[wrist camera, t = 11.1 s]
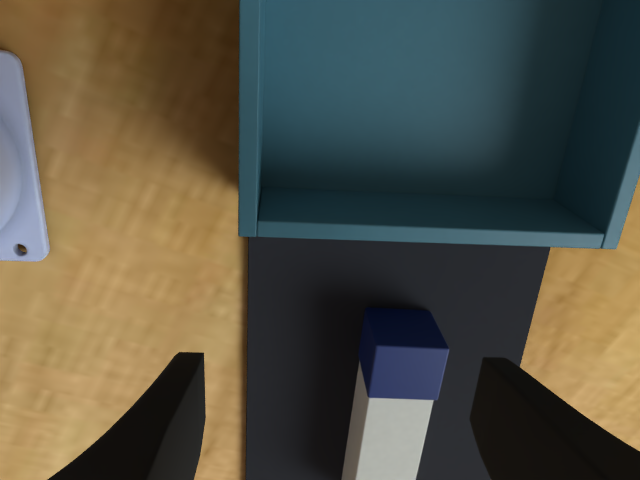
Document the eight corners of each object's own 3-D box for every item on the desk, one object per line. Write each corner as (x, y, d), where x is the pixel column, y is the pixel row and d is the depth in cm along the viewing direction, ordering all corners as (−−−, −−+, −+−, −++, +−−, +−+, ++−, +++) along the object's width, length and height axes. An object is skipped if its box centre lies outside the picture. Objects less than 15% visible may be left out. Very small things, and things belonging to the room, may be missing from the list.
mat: (245, 539, 29) (244, 544, 28) (249, 218, 21) (248, 220, 21) (473, 536, 30) (474, 541, 29) (551, 229, 22) (554, 232, 22)
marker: (392, 497, 28) (404, 550, 25) (336, 497, 27) (342, 550, 25) (430, 309, 23) (450, 348, 20) (365, 306, 23) (376, 345, 20)
